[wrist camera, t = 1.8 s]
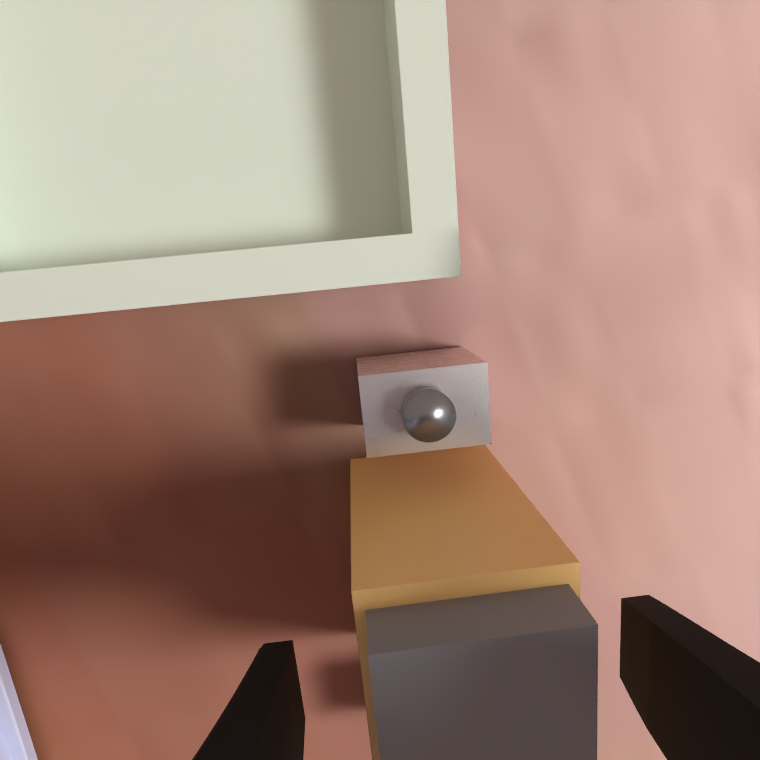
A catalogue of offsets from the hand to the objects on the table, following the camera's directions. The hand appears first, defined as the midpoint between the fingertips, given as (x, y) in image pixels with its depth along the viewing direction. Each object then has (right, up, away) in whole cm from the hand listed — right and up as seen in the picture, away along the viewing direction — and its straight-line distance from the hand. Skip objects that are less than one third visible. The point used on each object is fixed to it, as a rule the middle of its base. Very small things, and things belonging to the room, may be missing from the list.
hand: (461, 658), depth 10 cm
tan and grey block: (0, +1, +5) cm, 5 cm away
